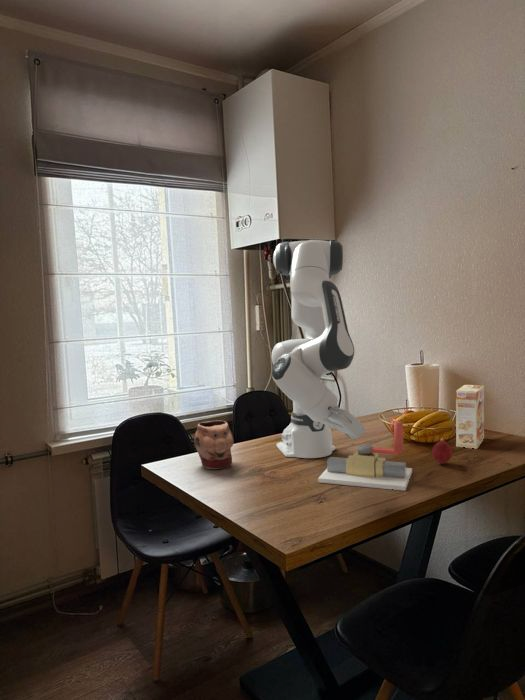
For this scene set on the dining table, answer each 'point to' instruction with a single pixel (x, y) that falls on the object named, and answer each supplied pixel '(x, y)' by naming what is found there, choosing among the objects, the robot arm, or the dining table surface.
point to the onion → (442, 451)
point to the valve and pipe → (366, 466)
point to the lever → (397, 448)
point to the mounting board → (366, 480)
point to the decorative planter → (214, 444)
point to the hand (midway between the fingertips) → (353, 436)
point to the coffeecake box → (470, 416)
